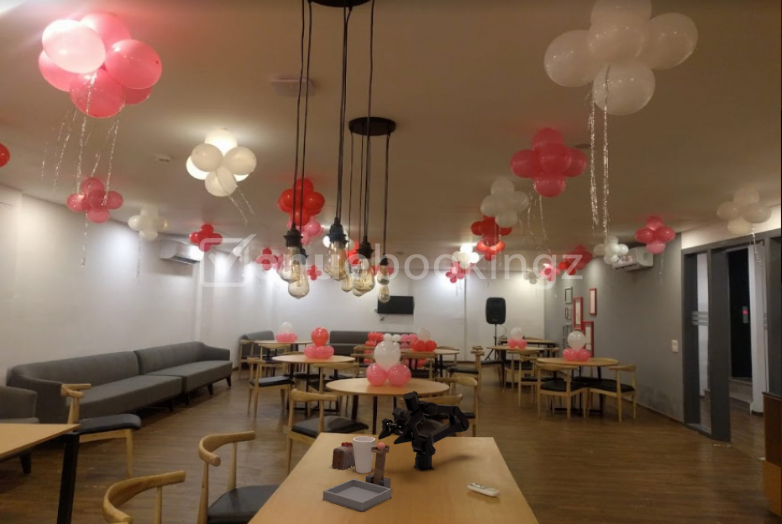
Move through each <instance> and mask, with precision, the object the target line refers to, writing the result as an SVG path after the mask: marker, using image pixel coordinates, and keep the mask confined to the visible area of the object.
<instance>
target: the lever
mask: <svg viewBox="0 0 782 524" xmlns="http://www.w3.org/2000/svg"><path fill="white" fill-rule="evenodd" d="M390 448H391V447H390V445H387V444H385V449H380V450H379V449H378V447H377V446H375V447H371V452H374V454H375V461H374V471H373V474H374V479H373V484H375V485H379V480H380V479H382V478H384V477H385V470H386V469H385V468H386V466H385V465H386V457H387V454H390Z"/></svg>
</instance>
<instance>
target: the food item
mask: <svg viewBox="0 0 782 524" xmlns="http://www.w3.org/2000/svg"><path fill="white" fill-rule="evenodd" d="M340 444H341V446H338V447H335V448H333V449H332V461H331V463H332V464H331V467H332V468H333V469H337V470H340V471H341V470H345V469H347V468H348V467H350V468H351V466H352V467H353V466H355V458H354V448H353V442H350V441H349V442H348V441H343V442H341V443H340Z"/></svg>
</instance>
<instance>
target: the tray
mask: <svg viewBox="0 0 782 524" xmlns="http://www.w3.org/2000/svg"><path fill="white" fill-rule="evenodd" d="M392 493H393V491H392V488H391V487H390V488H386V487H382V486H379V485H375V484H371V483H368V482H366V481H365V480H364V481H363V480H360V479H357V478H351V479H349V480H346V481H344V482H342V483H340V484H337V485H334V486H332V487H329V488H327V489H324V490H323V491H322V495H323V496H322V500H324V501H326V502H329V503H332V504H336V505H339V506H342V507H345V508H349V509H352V510H355V511H359V512H362V513H363V512H365V511H367V510H369V509H371V508H374V507H375V506H377V505H379V504H381V503H384V502H385V501H388V500H389V499H392V496H393V495H392Z"/></svg>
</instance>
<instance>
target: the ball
mask: <svg viewBox="0 0 782 524" xmlns="http://www.w3.org/2000/svg"><path fill="white" fill-rule="evenodd" d="M385 445H386V444H385V443H384V442H382V441H381V442H379V443H378V444H377V446H376V447H378V449H379V450H380V449H385Z"/></svg>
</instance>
